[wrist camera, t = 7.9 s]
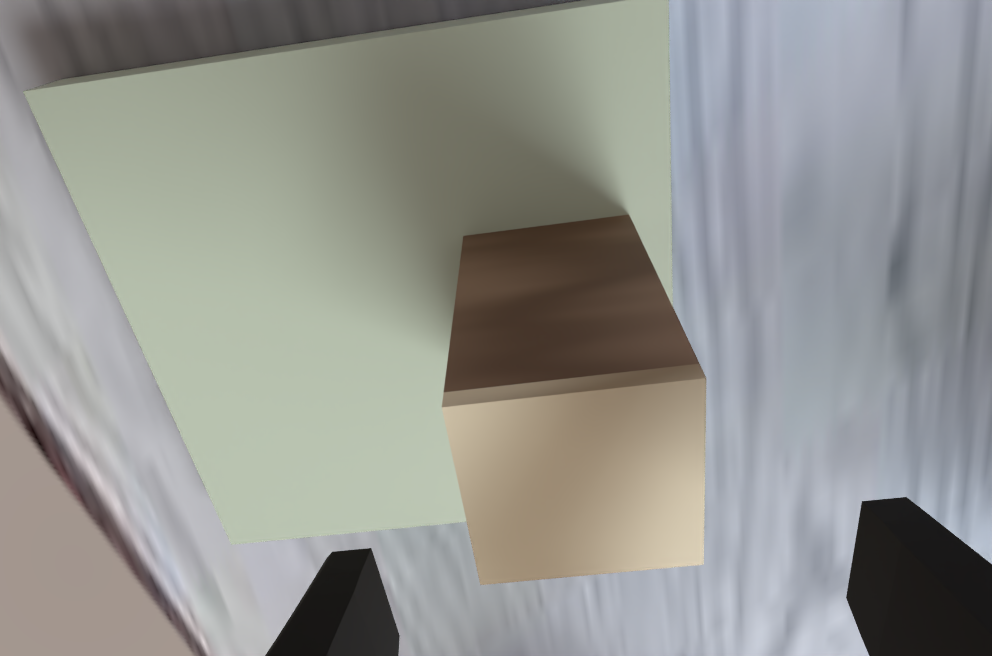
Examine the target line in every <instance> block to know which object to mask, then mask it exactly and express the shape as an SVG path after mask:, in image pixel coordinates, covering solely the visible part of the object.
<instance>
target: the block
mask: <svg viewBox="0 0 992 656" xmlns="http://www.w3.org/2000/svg"><path fill="white" fill-rule="evenodd" d="M442 411H443V416H444V421H445V425H446V430H447V434H448V439H449V443H450V448H451V453H452V457H453V462H454V466H455V471H456V475H457V480H458V484H459V489H460V494H461V498H462V503H463V507H464V512H465V516H466V521H467V525H468V530H469V535H470V539H471V544H472V548H473V553H474V557H475V562H476V566H477V571H478V576H479V580H480V585H485V584H496V583H507V582H518V581H529V580H540V579H551V578H562V577H573V576H584V575H595V574H606V573H617V572H628V571H639V570H650V569H661V568H672V567H683V566H694V565H704V501H705V430H706V377H705V374H704V372H703V370H702V368H701V366H700V364H699V362H698V360H697V357H696V355H695V353H694V351H693V349H692V347H691V345H690V343H689V341H688V338H687V336H686V334H685V332H684V330H683V328H682V326H681V324H680V321H679V319H678V317H677V315H676V313H675V311H674V309H673V307H672V304H671V302H670V300H669V298H668V296H667V294H666V292H665V290H664V287H663V285H662V283H661V281H660V279H659V277H658V275H657V273H656V270H655V268H654V266H653V264H652V262H651V260H650V258H649V256H648V253H647V251H646V249H645V247H644V245H643V243H642V241H641V239H640V236H639V234H638V232H637V230H636V228H635V226H634V224H633V222H632V219H631V217H630V215H621V216H614V217H606V218H598V219H590V220H583V221H575V222H567V223H559V224H552V225H544V226H536V227H528V228H521V229H513V230H505V231H497V232H490V233H482V234H474V235H466V236H463V242H462V250H461V258H460V266H459V274H458V282H457V289H456V297H455V305H454V313H453V321H452V329H451V337H450V345H449V353H448V361H447V369H446V377H445V385H444V392H443V400H442Z"/></svg>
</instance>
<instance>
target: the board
mask: <svg viewBox="0 0 992 656" xmlns="http://www.w3.org/2000/svg"><path fill="white" fill-rule="evenodd" d="M23 93H24V95H25V97H26V99H27V101H28V104H29V106H30V108H31V110H32V112H33V114H34V117H35V119H36V121H37V123H38V125H39V127H40V130H41V132H42V134H43V136H44V138H45V141H46V143H47V145H48V147H49V149H50V151H51V154H52V156H53V158H54V160H55V162H56V164H57V167H58V169H59V171H60V173H61V175H62V177H63V180H64V182H65V184H66V186H67V188H68V191H69V193H70V195H71V197H72V199H73V201H74V204H75V206H76V208H77V210H78V212H79V214H80V217H81V219H82V221H83V223H84V225H85V227H86V230H87V232H88V234H89V236H90V238H91V240H92V243H93V245H94V247H95V249H96V251H97V254H98V256H99V258H100V260H101V262H102V264H103V267H104V269H105V271H106V273H107V275H108V277H109V280H110V282H111V284H112V286H113V288H114V290H115V293H116V295H117V297H118V299H119V301H120V304H121V306H122V308H123V310H124V312H125V314H126V317H127V319H128V321H129V323H130V325H131V327H132V330H133V332H134V334H135V336H136V338H137V340H138V343H139V345H140V347H141V349H142V351H143V353H144V356H145V358H146V360H147V362H148V364H149V367H150V369H151V371H152V373H153V375H154V377H155V380H156V382H157V384H158V386H159V388H160V390H161V393H162V395H163V397H164V399H165V401H166V403H167V406H168V408H169V410H170V412H171V414H172V417H173V419H174V421H175V423H176V425H177V427H178V430H179V432H180V434H181V436H182V438H183V440H184V443H185V445H186V447H187V449H188V451H189V453H190V456H191V458H192V460H193V462H194V464H195V466H196V469H197V471H198V473H199V475H200V477H201V480H202V482H203V484H204V486H205V488H206V490H207V493H208V495H209V497H210V499H211V501H212V503H213V506H214V508H215V510H216V512H217V514H218V516H219V519H220V521H221V523H222V525H223V527H224V530H225V532H226V534H227V536H228V538H229V540H230V543H231V545H233V544H244V543H254V542H264V541H274V540H285V539H295V538H305V537H315V536H326V535H336V534H346V533H356V532H367V531H377V530H387V529H397V528H408V527H418V526H428V525H438V524H449V523H459V522H467V521H466V516H465V512H464V507H463V503H462V498H461V494H460V489H459V484H458V480H457V475H456V471H455V466H454V462H453V457H452V453H451V448H450V443H449V439H448V434H447V430H446V425H445V421H444V416H443V411H442V400H443V392H444V385H445V377H446V369H447V361H448V353H449V345H450V337H451V329H452V321H453V313H454V305H455V297H456V289H457V282H458V274H459V266H460V258H461V250H462V242H463V236H466V235H474V234H482V233H490V232H497V231H505V230H513V229H521V228H528V227H536V226H544V225H552V224H559V223H567V222H575V221H583V220H590V219H598V218H606V217H614V216H621V215H630V217H631V219H632V222H633V224H634V226H635V228H636V230H637V232H638V234H639V236H640V239H641V241H642V243H643V245H644V247H645V249H646V251H647V253H648V256H649V258H650V260H651V262H652V264H653V266H654V268H655V270H656V273H657V275H658V277H659V279H660V281H661V283H662V285H663V287H664V290H665V292H666V294H667V296H668V298H669V300H670V302H671V304H672V307H673V294H672V218H671V142H670V66H669V0H582V1H575V2H569V3H562V4H555V5H549V6H542V7H536V8H529V9H522V10H516V11H509V12H503V13H496V14H489V15H483V16H476V17H470V18H463V19H456V20H450V21H443V22H437V23H430V24H423V25H417V26H410V27H404V28H397V29H391V30H384V31H377V32H371V33H364V34H358V35H351V36H344V37H338V38H331V39H325V40H318V41H311V42H305V43H298V44H292V45H285V46H278V47H272V48H265V49H259V50H252V51H245V52H239V53H232V54H226V55H219V56H212V57H206V58H199V59H193V60H186V61H180V62H173V63H166V64H160V65H153V66H147V67H140V68H133V69H127V70H120V71H114V72H107V73H100V74H94V75H87V76H81V77H74V78H67V79H61V80H58V81H55V82H52V83H48V84H45V85H42V86H39V87H36V88H32V89H29V90H26V91H23Z"/></svg>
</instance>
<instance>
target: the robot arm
mask: <svg viewBox="0 0 992 656" xmlns="http://www.w3.org/2000/svg"><path fill="white" fill-rule="evenodd" d="M846 598H847V601H848V603H849V606H850V609H851V611H852V614H853V616H854V619H855V621H856V624H857V627H858V629H859V632H860V634H861V637H862V639H863V642H864V644H865V646H866V649H867V651H868V654H869V656H992V564H991V563H989V562H988V561H987V560H986V559H984V558H983V557H982V556H980V555H979V554H978V553H977V552H975V551H974V550H973V549H971V548H970V547H969V546H968V545H966V544H965V543H964V542H963V541H961V540H960V539H959V538H958V537H956V536H955V535H954V534H953V533H951V532H950V531H949V530H948V529H946V528H945V527H944V526H942V525H941V524H940V523H939V522H937V521H936V520H935V519H934V518H932V517H931V516H930V515H929V514H927V513H926V512H925V511H923V510H922V509H921V508H920V507H918V506H917V505H916V504H914V503H913V502H912V501H911V500H909V499H908V498H907V497H903V498H893V499H882V500H872V501H862V505H861V511H860V517H859V523H858V530H857V536H856V542H855V548H854V554H853V560H852V566H851V572H850V578H849V584H848V591H847V597H846ZM398 652H399V633H398V630H397V627H396V624H395V620H394V617H393V614H392V611H391V608H390V605H389V602H388V599H387V596H386V593H385V589H384V586H383V583H382V580H381V577H380V574H379V571H378V568H377V565H376V562H375V558H374V555H373V552H372V549H371V548H369V549H358V550H348V551H337V552H332V553H331V554H330V555H329V556H328V557H327V559H326V560H325V562H324V564H323V565H322V567H321V568H320V570H319V572H318V573H317V575H316V577H315V578H314V580H313V581H312V583H311V585H310V586H309V588H308V590H307V591H306V593H305V595H304V596H303V598H302V599H301V601H300V603H299V604H298V606H297V607H296V609H295V611H294V612H293V614H292V615H291V617H290V618H289V620H288V622H287V623H286V625H285V626H284V628H283V629H282V631H281V633H280V634H279V636H278V637H277V639H276V640H275V642H274V643H273V645H272V646H271V648H270V649H269V651H268V652H267V654H266V655H265V656H398Z"/></svg>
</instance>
